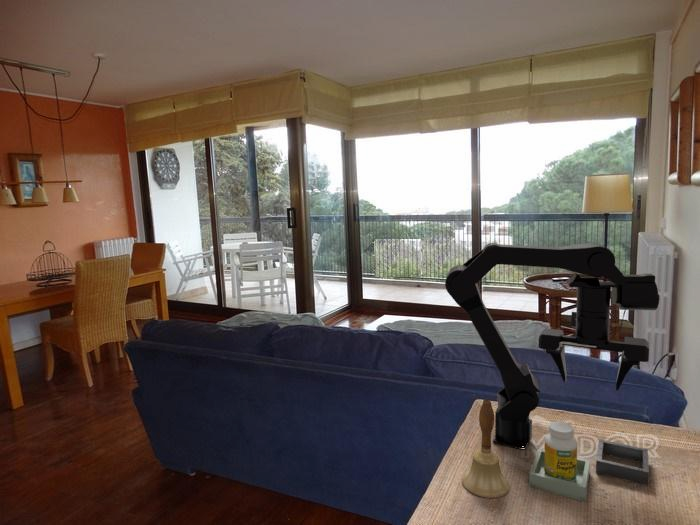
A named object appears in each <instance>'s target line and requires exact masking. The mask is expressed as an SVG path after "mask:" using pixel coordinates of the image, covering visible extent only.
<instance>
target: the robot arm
mask: <svg viewBox="0 0 700 525" xmlns="http://www.w3.org/2000/svg"><path fill="white" fill-rule="evenodd" d="M498 265H504V266H505V265H506V266H517V267H518V266H522V267H539V268H551V269H553V268H554V269H555V268H556V269H562V270H566V271H570V272H573V275H572V276H570V277H569V278H568V279H567V280H566V281H565V283H566V284H567V285H568V287H569V288H577V289H576V311H571V315H570V316H571V317H570V327H572V328H575V336H573V335H571V336H570V335H564V329H555V328H546V327H545V328H544V329H543V330H542V331H541V333H540V334H539V336H538V349H541V350H544V351H545V353H546V354H549V355H550V356H551V357H552V359H553V361H554V363H555V365H556V367H557V369H558V371H559V374H560V376H561V379H562V381H563V383H567V366H566V363H567V362H566V353H565V351H566V350H565V346H569V347H577V348H583V349H584V348H585V349H594V350H602V351H607V352H609V351H610V352H619V353H621V356H620V362H619V365H618V371H617V376H616V381H615V391H619V390H620V388H621V387H622V386H621V385H622V383H624V379H625V378H626V375H628V373H629V372H630V370H631V369H632V368H633V367H634V366H640V365H641V363H648V362H649V358H650V344H649V342H648V340H647V339H646V338H641V337H631V336H630V337H629V336H624V339H623V340H624V341H616V340H609V339H610V336H611V335H610V334H611V324H610V323H611V322H610V320H611V315H610V314H611V301H612V304H613V305H617V307H618V309H619V310H622V311H657V309H658V308H659V304H660V294H659V289H658V285H657V283H656V276H655V275H654V274H652V273H641V274H624V273H623V272H622V271H621V270H620V269H619V267H618V266H617V265H616V257H615V254H614V252H612V250H611V249H609V248H607V247H606V246H603V245H602V244H599V243H598V242H585V243H583V242H582V243H576V244H570V245H565V246H557V247H556V246H540V245H539V246H538V245H537V246H536V245H521V244H520V245H518V244H503V243H502V244H500V243H496V242H489V243H487V244H486V245H485V246H484V247H483V248H482V249H481V250H480V251H478V252H477V253H475V254H474V255H473V256H472V257H471V258H469V259H468V260H467V261H465V262H464V263H463V264H457V265H454V266H453V267H452V268H450V269H449V271H448V273H447V275H446V279H445V282H444V285H445V290H446V292H447V293H448V294H449V296H450V297H451V298H452V300H454V302H455V304H457V306H459V307H460V308H461V309H462V311H464V312H465V313H466V314H467V315H468V318H469V319H470V321H471V323H472V324H473V326H474V328H475V330H476V332H477V335H479V337H480V339H481V340H482V342H483V345H484V347H485V348H486V350H487V352H488V353H489V355H490V356H491V359H492V361H493V363H494V364H495V366H496V367H497V369H498V371H499V373H500V376H501V381H502V383H503V388H501V389H500V390H499V391H498V392H497V393H496V398H497V399H496V401H497V407H496V409H495V411H494V425H495V426H494V427H495V430H494V437H493V438H492V442H493V443H494V444H499V445H503V446H507V447H511V448H515V447H517V448H516V449H519V448H525V447H526V445H527V446H528V444H530V443H531V441H532V437H533V420H532V418H530V414H531V412H532V411H534V410H536V409H537V408H538V406H539V403H540V397H539V396H540V395H539V393H541V390H540V386H539V383H538V380H537V377H535V376H534V375H533V374H532V372H531V370H530V366H529V364H528V362H526V363H524V364H523V365H521V364H520V363H519V362H518V361H517V359H516V358H515V357H514V355H513V353H512V352H511V350H510V348H509V346H508V344H507V343H506V340H505V339H504V337H503V336H502V334H501V332H500V330H499V328H498V326H497V325H496V322H495V321H494V319H493V317H492V315H491V314H490V312H489V310H488V308H487V307H486V305H485V303H484V301H483V297H482V295H481V291H480V287H479V284H478V282H480V281H481V280H482V279H483V278H484V277H485V276H486V275H488V273H489V272H490V271H491V270H492V269H494V268H495V267H496V266H498ZM579 274H580V275H584V276H580V275H579ZM603 277H604V279H607V281H604V280H603V281H601V280H599V278H603ZM527 443H528V444H527ZM522 446H524V447H522ZM526 448H527V447H526Z"/></svg>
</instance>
